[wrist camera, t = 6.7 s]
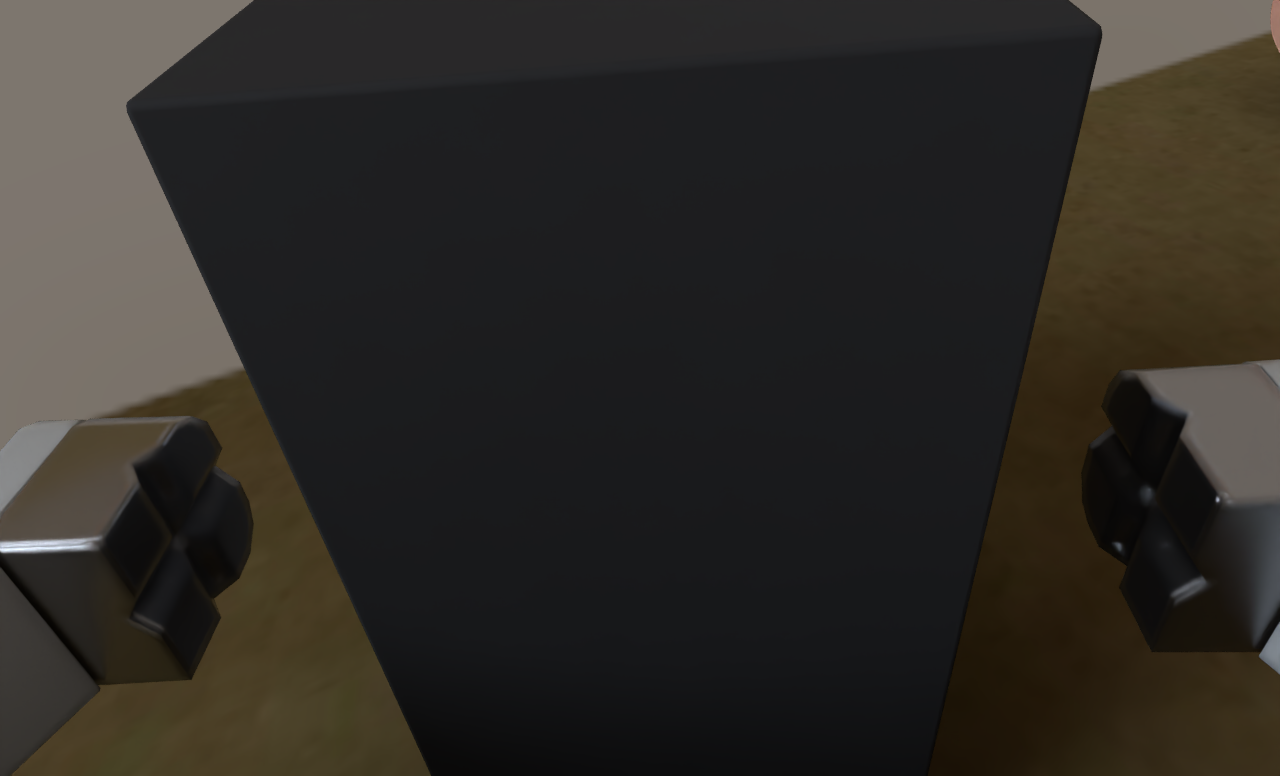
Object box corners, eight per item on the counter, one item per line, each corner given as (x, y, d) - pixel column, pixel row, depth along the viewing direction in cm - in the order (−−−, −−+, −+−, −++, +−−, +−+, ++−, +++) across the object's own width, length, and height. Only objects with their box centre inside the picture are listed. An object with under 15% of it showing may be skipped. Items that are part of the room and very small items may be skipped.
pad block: (470, 864, 10) (117, 103, 5) (522, 536, 14) (366, -94, 8) (909, 857, 10) (1110, 27, 4) (840, 522, 14) (896, -144, 8)
